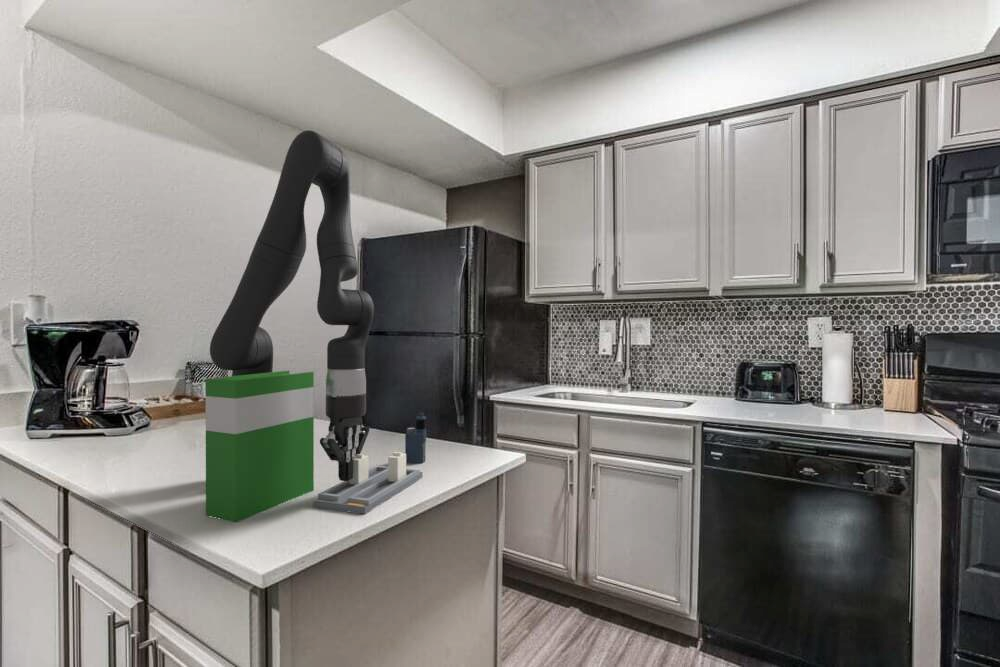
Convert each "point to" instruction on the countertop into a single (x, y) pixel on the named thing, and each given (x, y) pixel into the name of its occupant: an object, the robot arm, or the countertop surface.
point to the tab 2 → (396, 466)
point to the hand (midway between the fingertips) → (345, 479)
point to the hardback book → (258, 442)
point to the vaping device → (416, 441)
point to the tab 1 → (360, 469)
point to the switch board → (365, 491)
